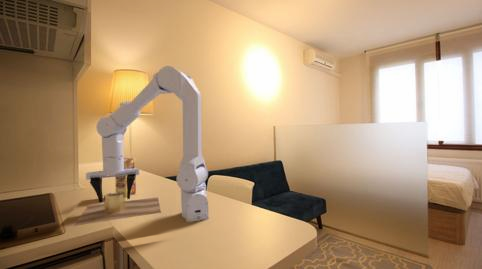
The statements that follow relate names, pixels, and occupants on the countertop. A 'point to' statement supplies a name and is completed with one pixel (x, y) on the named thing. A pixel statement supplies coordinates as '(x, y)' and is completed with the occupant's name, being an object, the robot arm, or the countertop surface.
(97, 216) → the keyed post board
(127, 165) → the candy box
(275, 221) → the countertop surface
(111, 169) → the robot arm
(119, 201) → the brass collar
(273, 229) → the countertop surface
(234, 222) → the countertop surface
